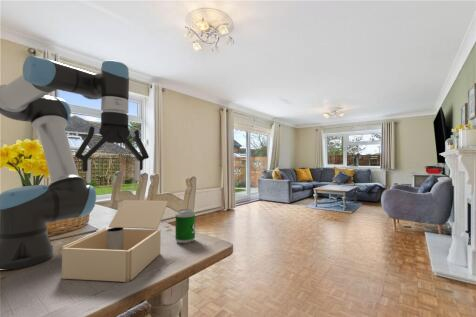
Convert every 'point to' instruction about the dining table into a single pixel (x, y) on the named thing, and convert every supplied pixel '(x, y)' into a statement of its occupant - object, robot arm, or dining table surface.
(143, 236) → the carton
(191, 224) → the soda can
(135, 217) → the flap
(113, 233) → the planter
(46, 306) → the dining table surface
